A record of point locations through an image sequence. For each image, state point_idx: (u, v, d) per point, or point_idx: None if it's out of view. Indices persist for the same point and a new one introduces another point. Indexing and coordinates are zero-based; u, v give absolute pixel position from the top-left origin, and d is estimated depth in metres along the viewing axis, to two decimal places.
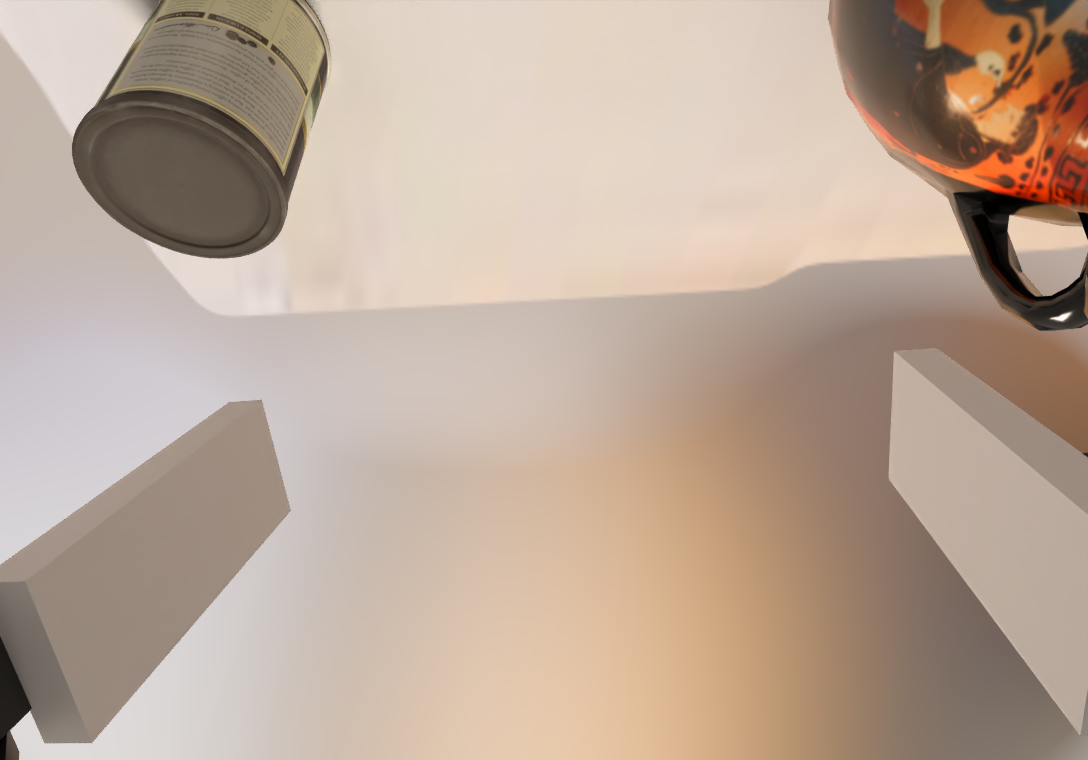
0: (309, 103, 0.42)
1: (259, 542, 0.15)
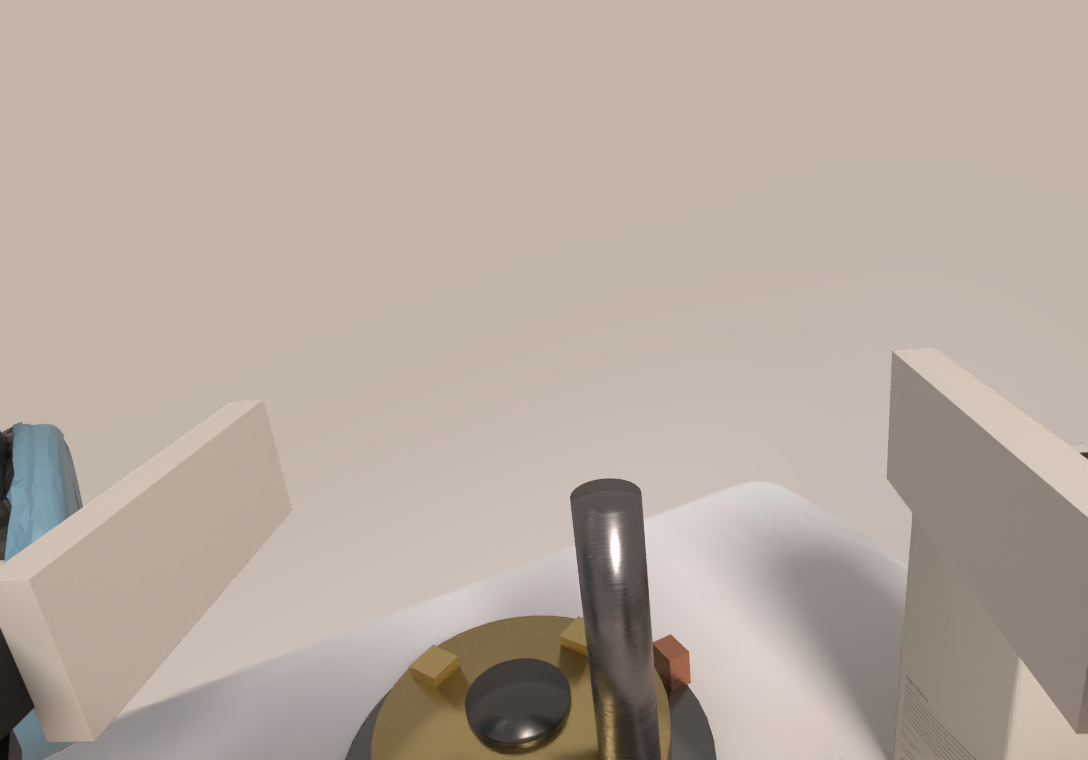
0: None
1: (260, 542, 0.15)
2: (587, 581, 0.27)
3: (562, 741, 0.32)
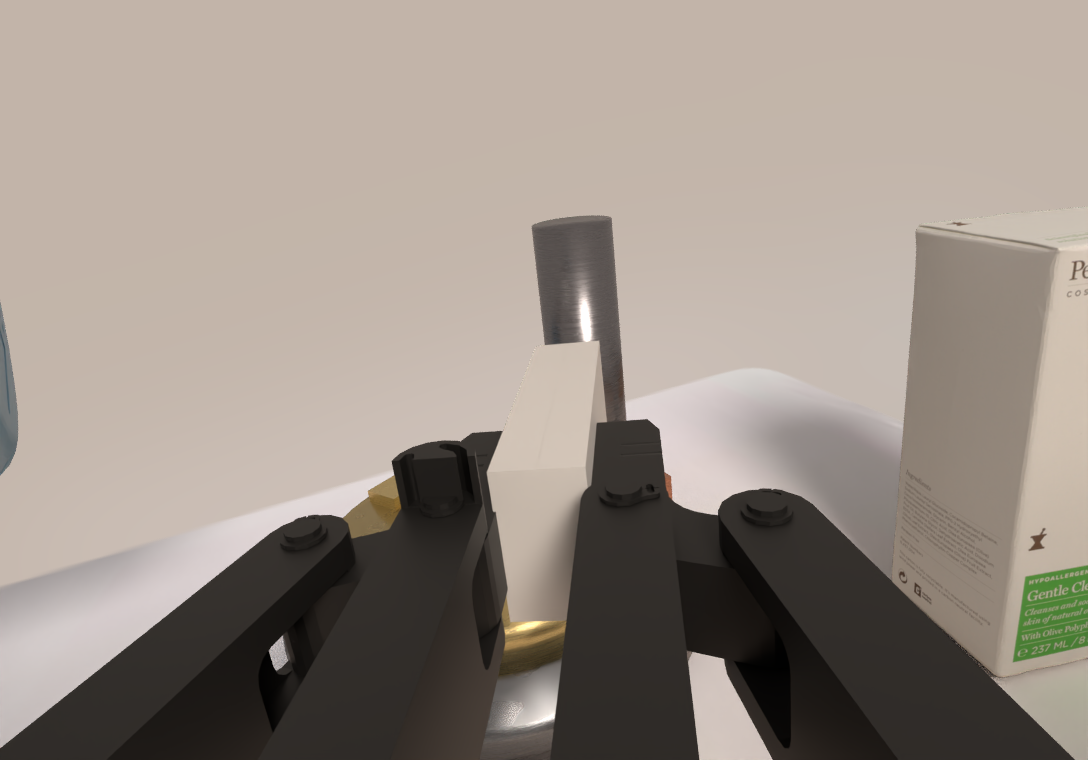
0: None
1: None
2: (551, 322, 0.24)
3: None
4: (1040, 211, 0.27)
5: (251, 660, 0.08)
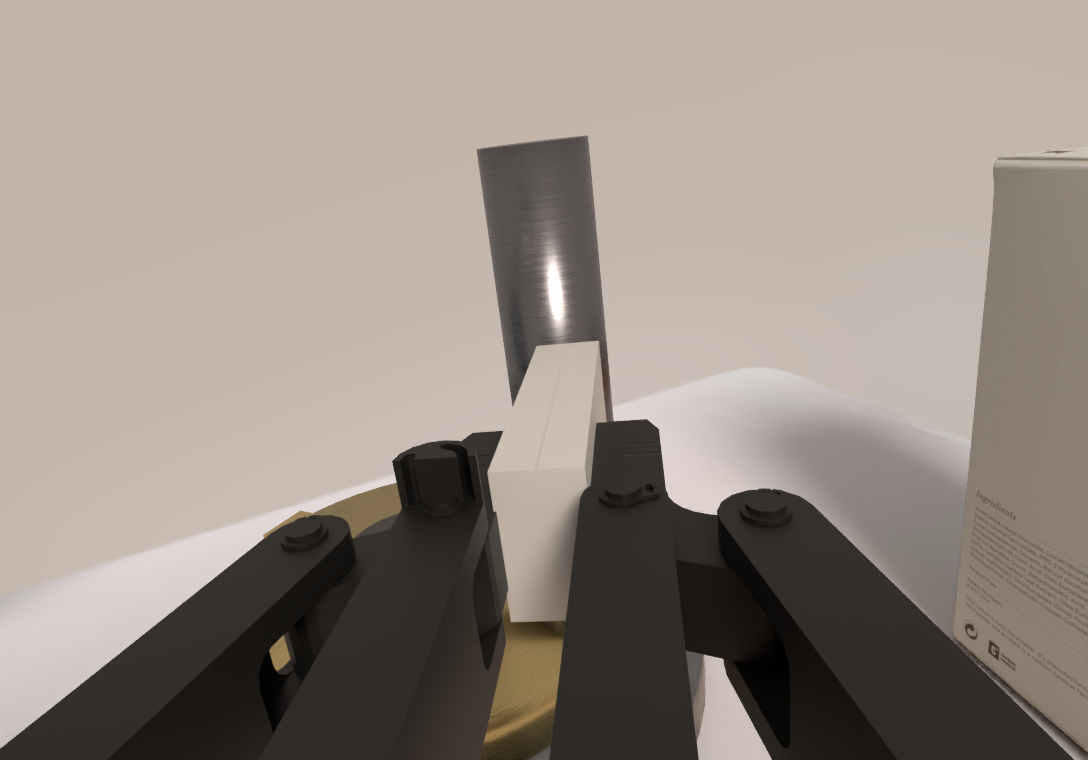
0: None
1: None
2: (510, 283, 0.17)
3: None
4: None
5: (251, 660, 0.08)
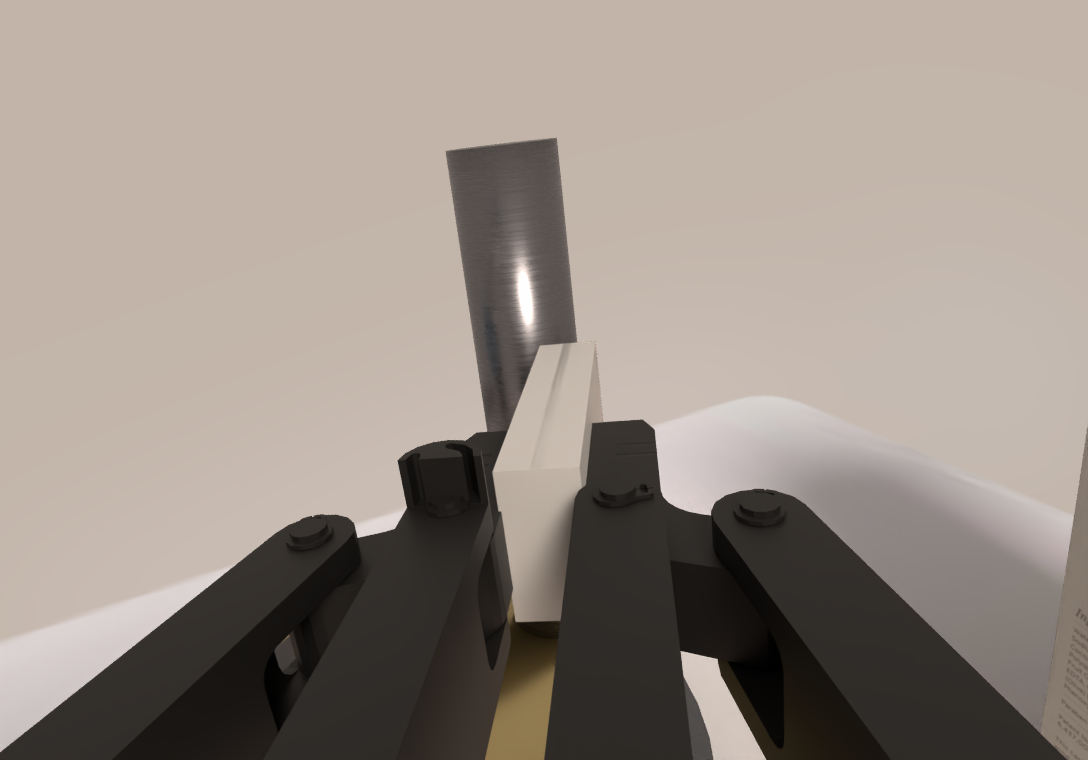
0: None
1: None
2: (527, 282, 0.17)
3: None
4: None
5: (257, 660, 0.08)
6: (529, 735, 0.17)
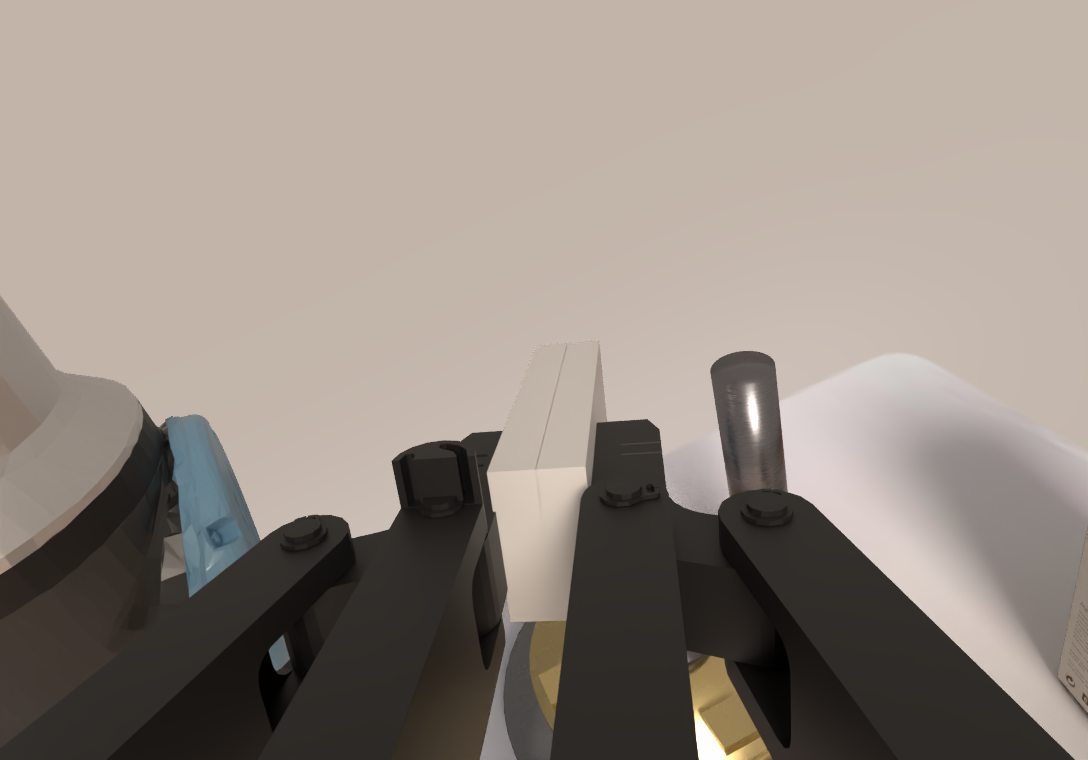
0: None
1: None
2: (760, 442, 0.30)
3: None
4: None
5: (251, 660, 0.08)
6: None
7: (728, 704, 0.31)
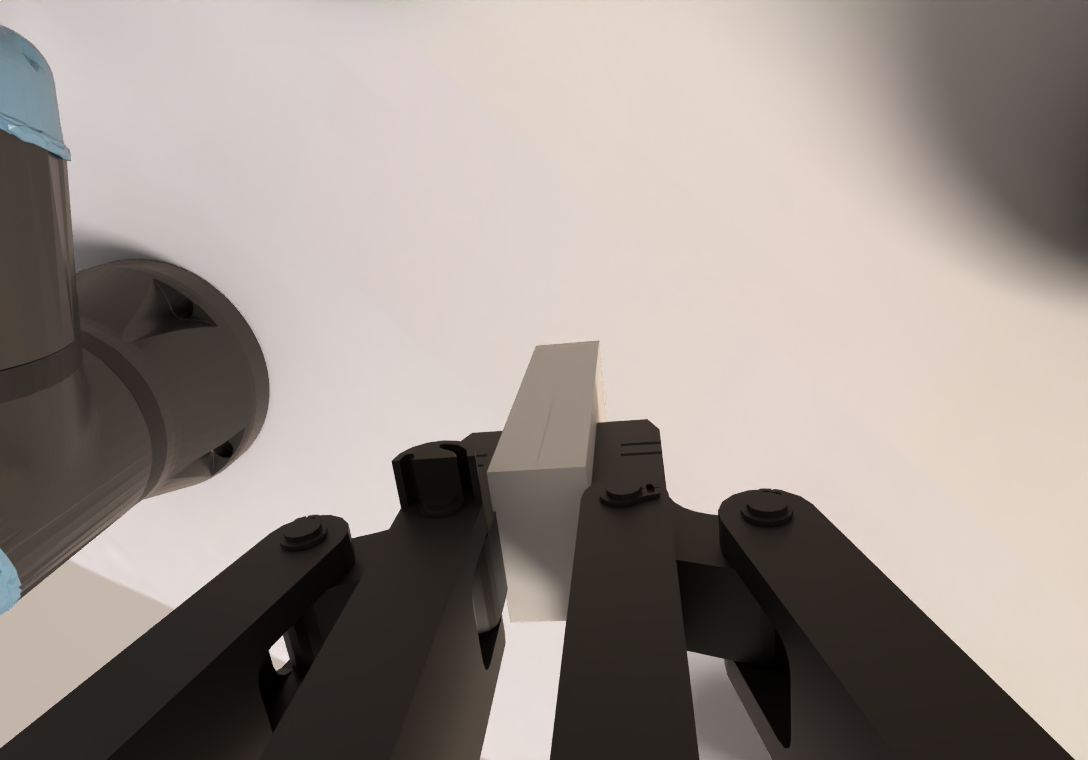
0: None
1: None
2: None
3: None
4: None
5: (251, 660, 0.08)
6: None
7: None
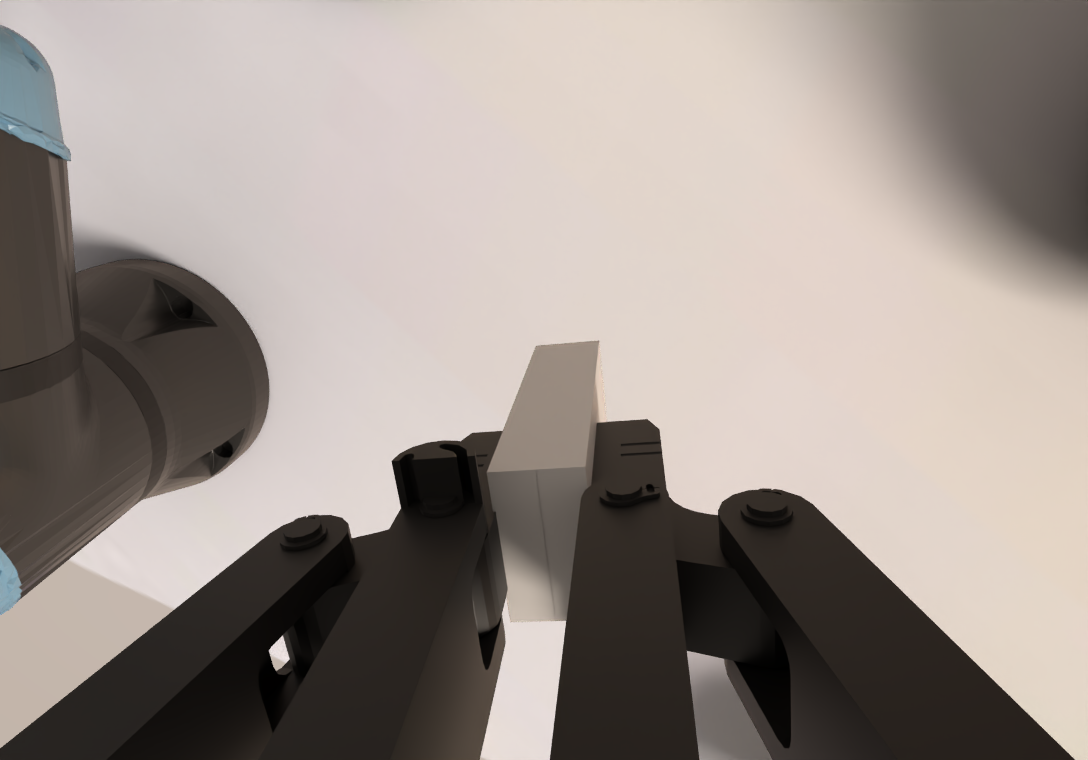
0: None
1: None
2: None
3: None
4: None
5: (251, 660, 0.08)
6: None
7: None
